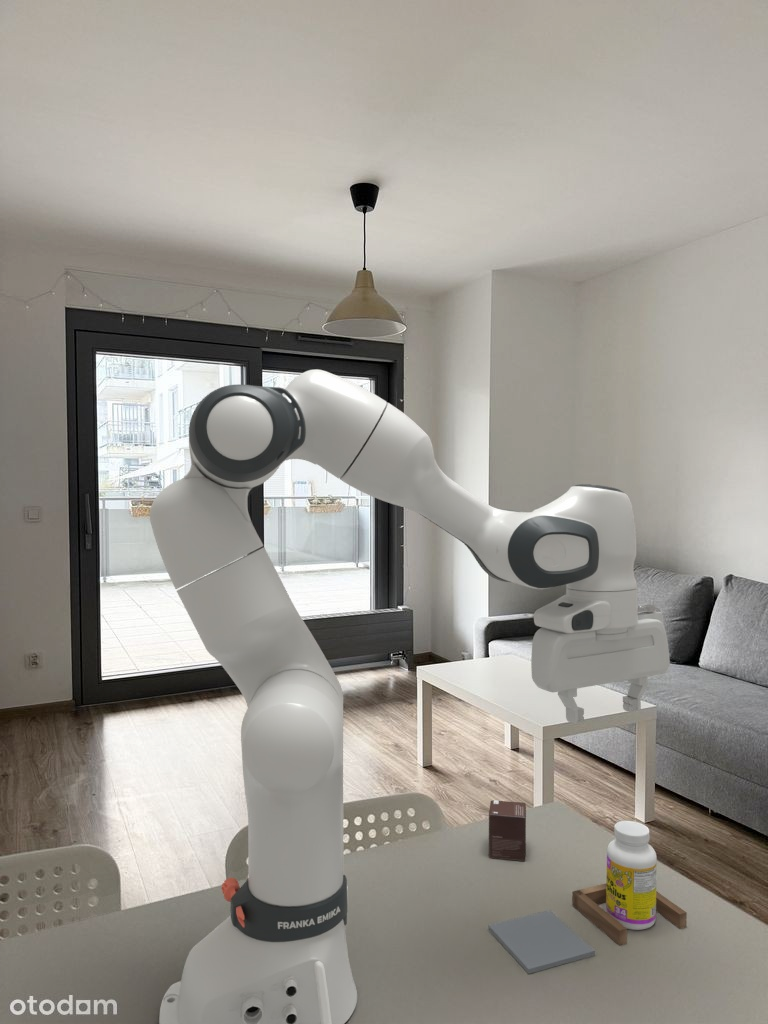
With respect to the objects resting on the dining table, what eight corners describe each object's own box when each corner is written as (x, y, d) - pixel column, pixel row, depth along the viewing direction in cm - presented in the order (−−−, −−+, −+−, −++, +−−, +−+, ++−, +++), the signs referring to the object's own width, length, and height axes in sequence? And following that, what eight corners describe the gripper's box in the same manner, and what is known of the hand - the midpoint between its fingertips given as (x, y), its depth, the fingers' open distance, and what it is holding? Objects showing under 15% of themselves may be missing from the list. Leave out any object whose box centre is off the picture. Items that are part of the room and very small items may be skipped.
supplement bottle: (597, 907, 105) (598, 819, 105) (639, 902, 106) (640, 815, 106) (620, 934, 98) (621, 840, 98) (665, 929, 100) (666, 836, 99)
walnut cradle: (619, 945, 96) (619, 930, 96) (572, 905, 105) (572, 891, 105) (686, 926, 100) (686, 912, 100) (635, 889, 110) (635, 876, 110)
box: (525, 862, 118) (525, 817, 118) (488, 858, 119) (488, 814, 119) (526, 844, 124) (526, 802, 124) (490, 841, 125) (490, 799, 125)
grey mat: (528, 973, 90) (528, 969, 90) (488, 929, 99) (488, 924, 99) (595, 955, 94) (595, 950, 94) (549, 913, 103) (550, 909, 103)
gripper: (644, 600, 101) (646, 699, 102) (522, 613, 93) (525, 721, 93) (680, 605, 96) (682, 710, 96) (554, 620, 87) (556, 735, 87)
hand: (604, 716), depth 94 cm, fingers open, 8 cm apart
